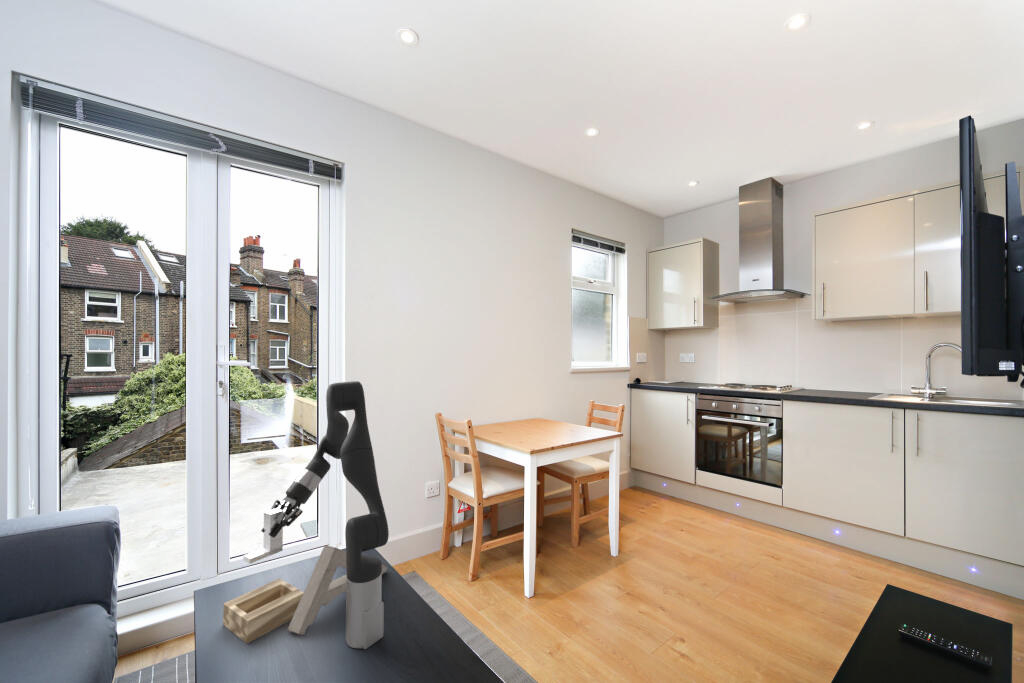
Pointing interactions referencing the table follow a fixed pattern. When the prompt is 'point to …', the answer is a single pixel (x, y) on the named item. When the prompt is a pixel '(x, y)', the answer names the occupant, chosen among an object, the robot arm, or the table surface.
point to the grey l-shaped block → (268, 538)
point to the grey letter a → (321, 588)
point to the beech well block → (261, 609)
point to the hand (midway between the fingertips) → (267, 534)
